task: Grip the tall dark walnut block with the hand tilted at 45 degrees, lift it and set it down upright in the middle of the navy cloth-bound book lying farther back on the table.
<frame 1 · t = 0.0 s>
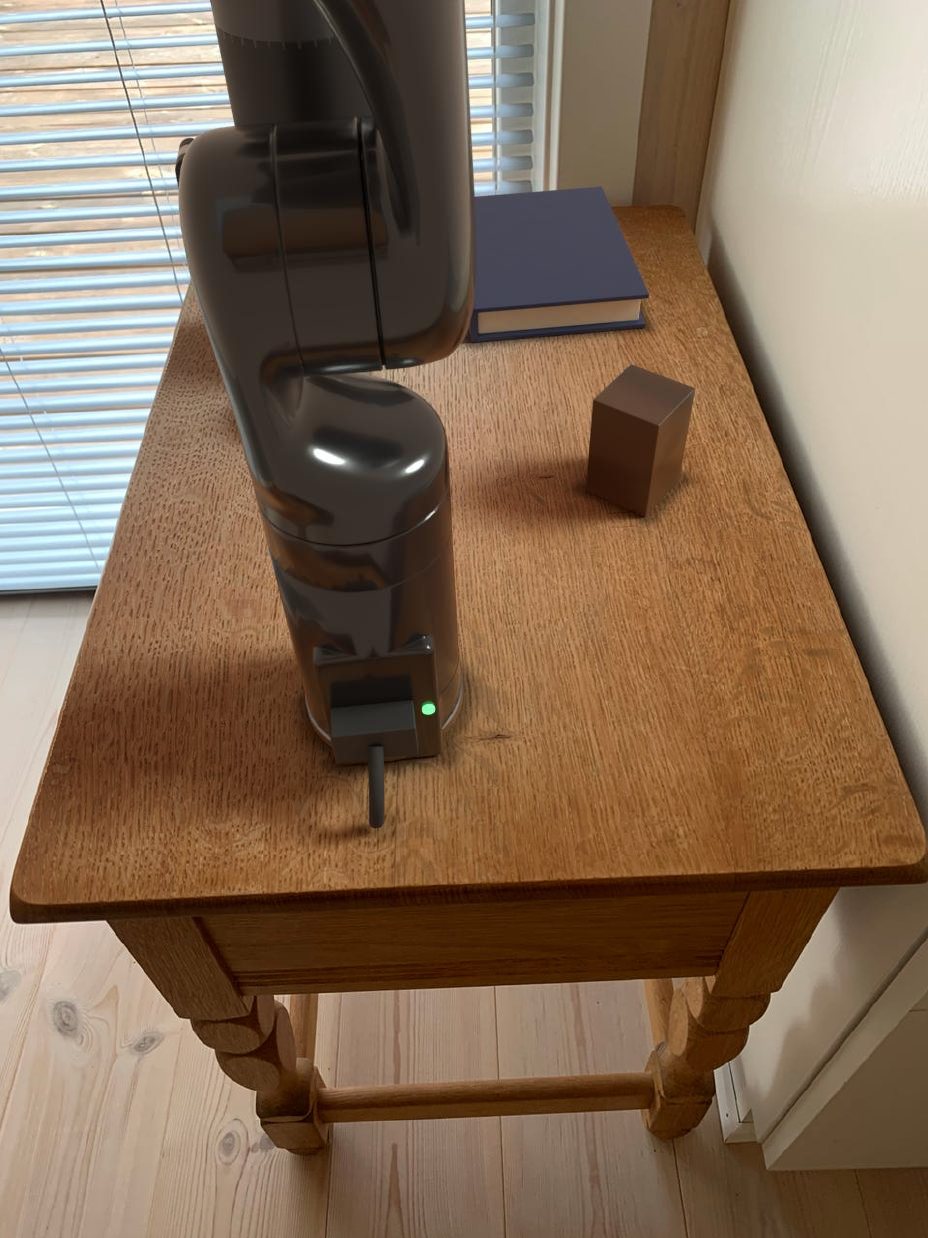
hand: (343, 328, 55), 17 cm above the table, tool pointing down, fingers open, 8 cm apart
book: (540, 275, 91), on the table
walnut block: (632, 484, 72), on the table
light bulb box: (314, 351, 85), on the table
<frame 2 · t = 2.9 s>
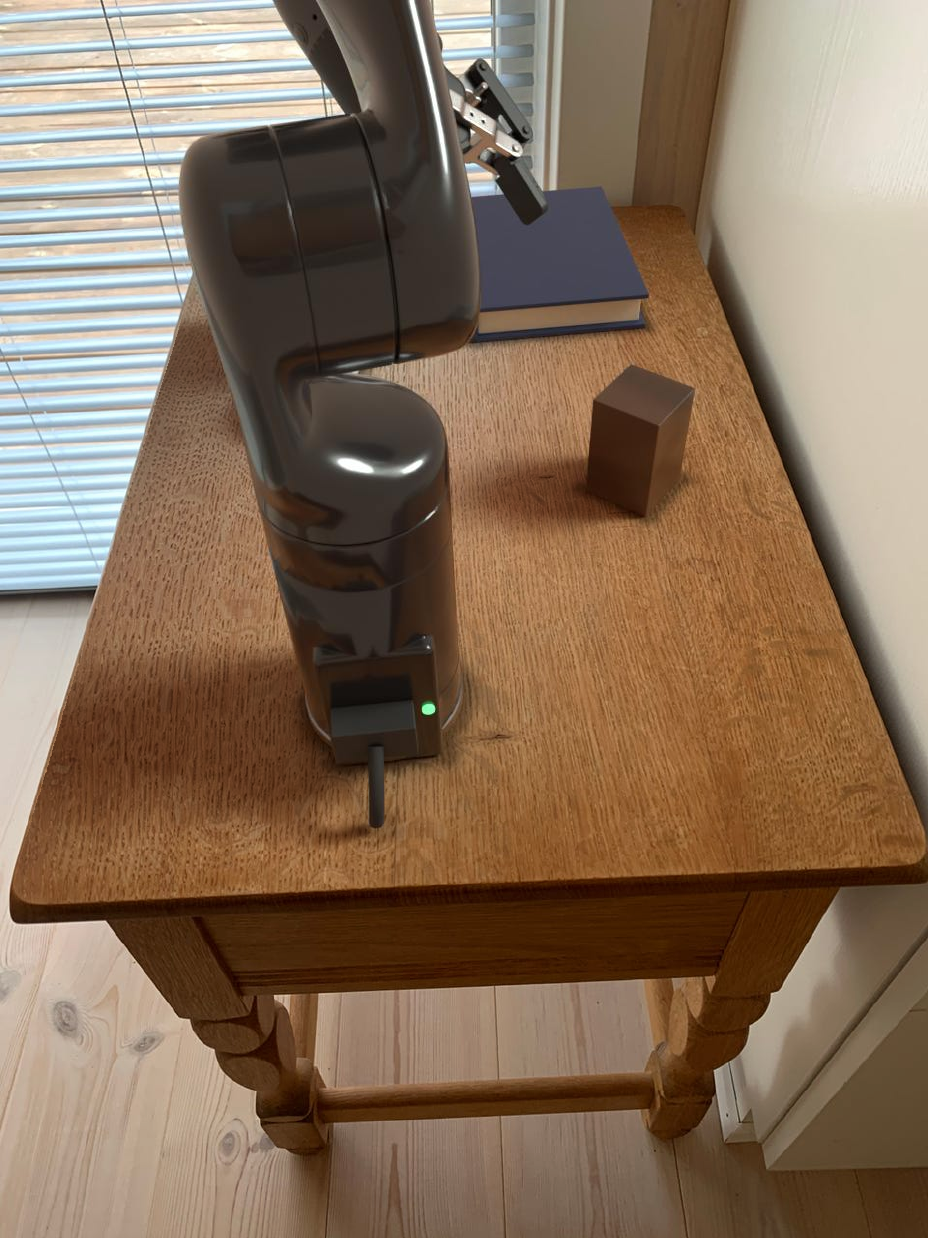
hand: (501, 243, 65), 15 cm above the table, tool tilted 45°, fingers open, 8 cm apart
nothing on the table moved.
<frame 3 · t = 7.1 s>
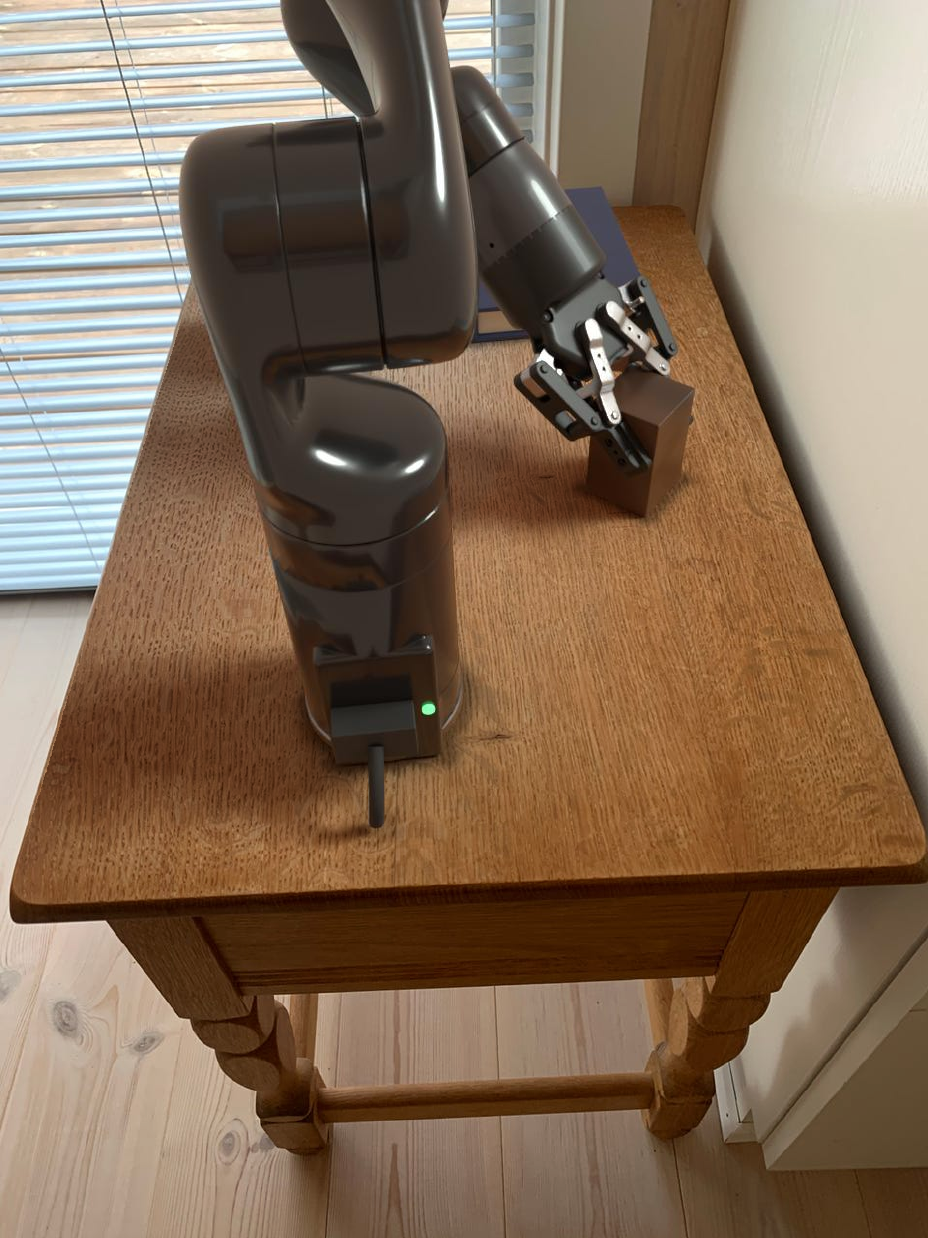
hand: (661, 448, 68), 4 cm above the table, tool tilted 45°, fingers closed on walnut block, 5 cm apart
walnut block: (632, 484, 72), on the table, touching gripper
everything else where it was.
when the fingers open (7 cm above the table, at t = 17.1 s): walnut block stays where it is, resting on book.
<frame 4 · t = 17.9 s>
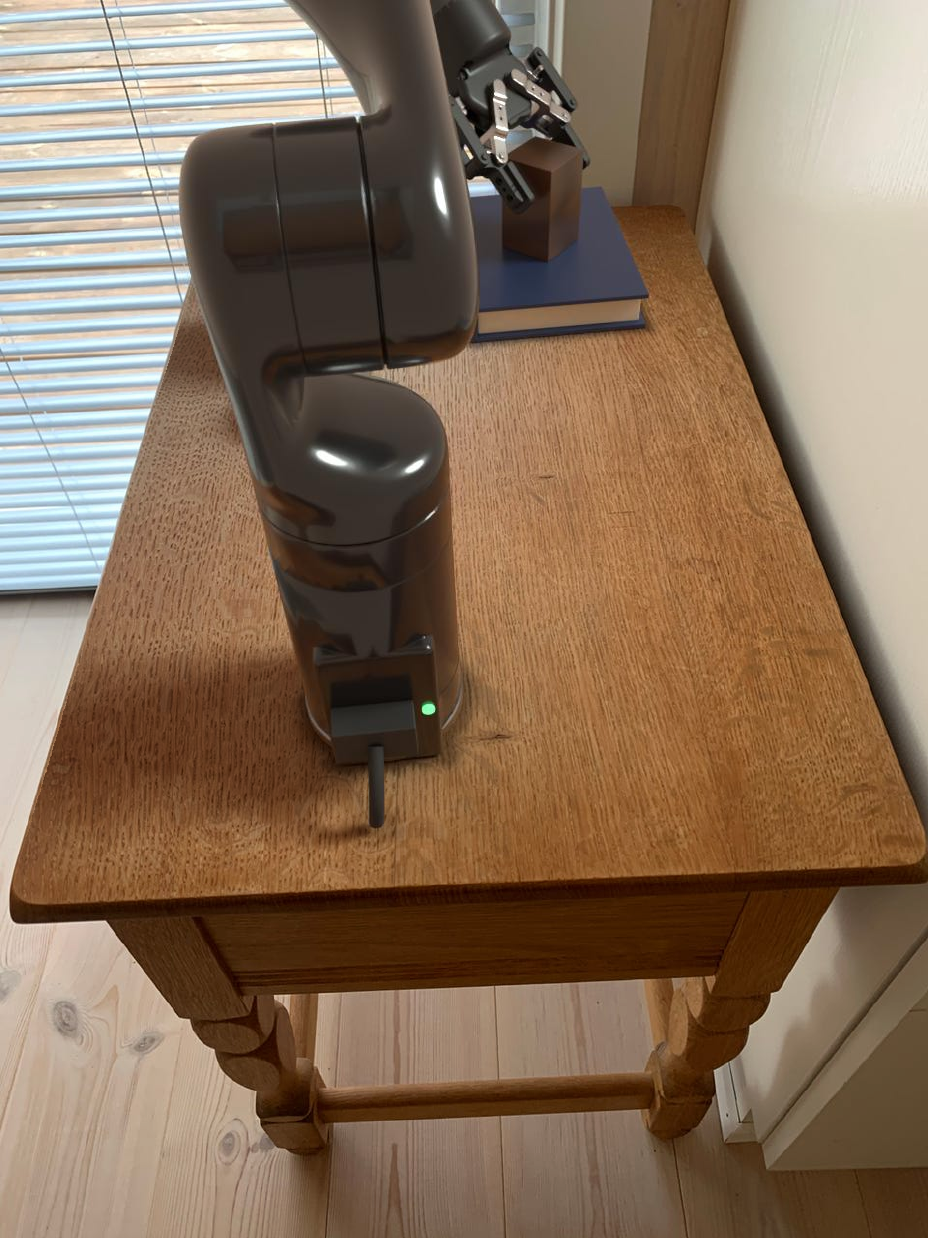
hand: (555, 188, 85), 8 cm above the table, tool tilted 45°, fingers open, 8 cm apart
walnut block: (540, 242, 89), point 3 cm above the table, touching book
everything else where it was.
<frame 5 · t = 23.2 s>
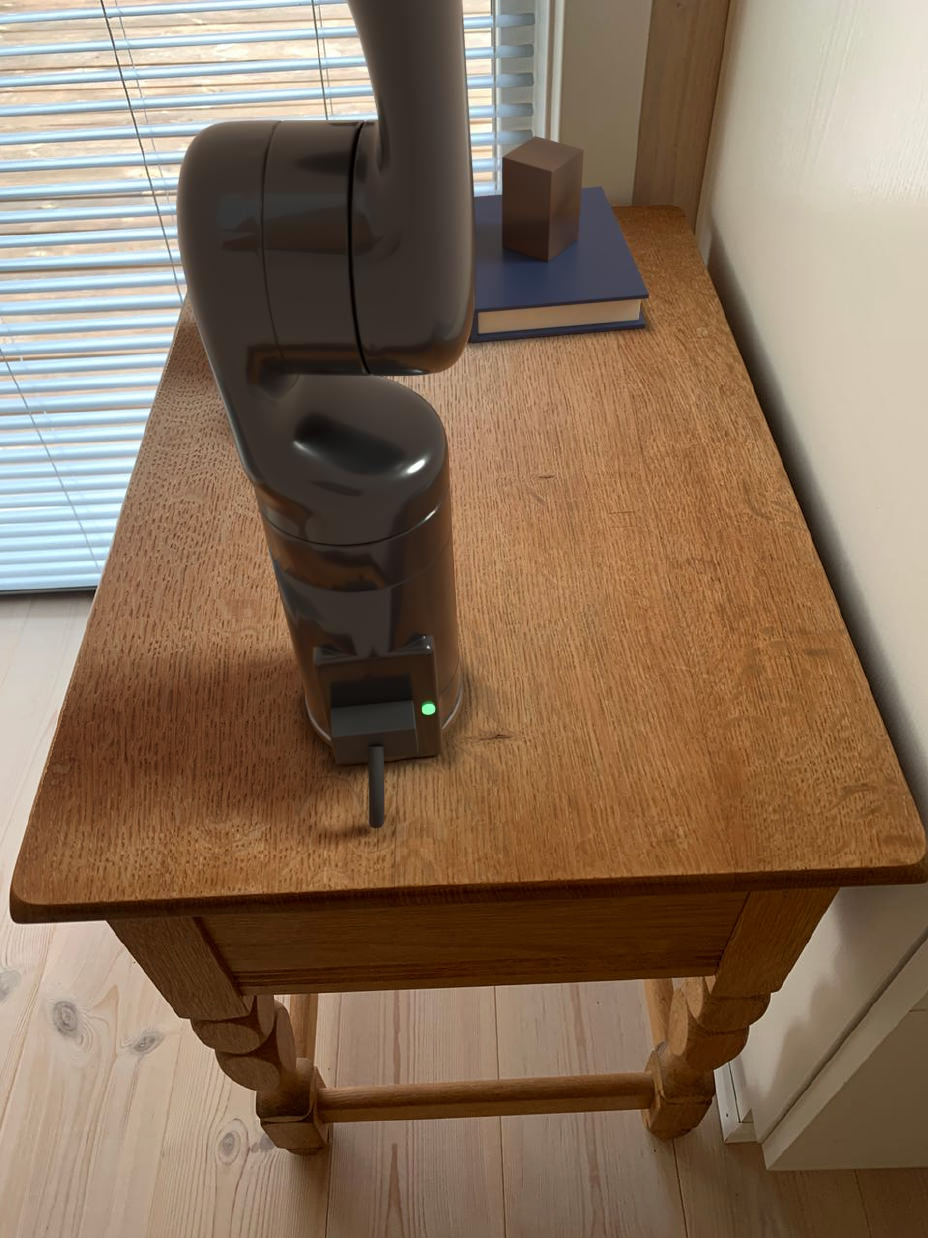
nothing on the table moved.
at the end: walnut block inside the target area on the book (0.1 cm from its centre), point 3.2 cm above the book's base; walnut block tilted 0°; the gripper is holding nothing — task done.
